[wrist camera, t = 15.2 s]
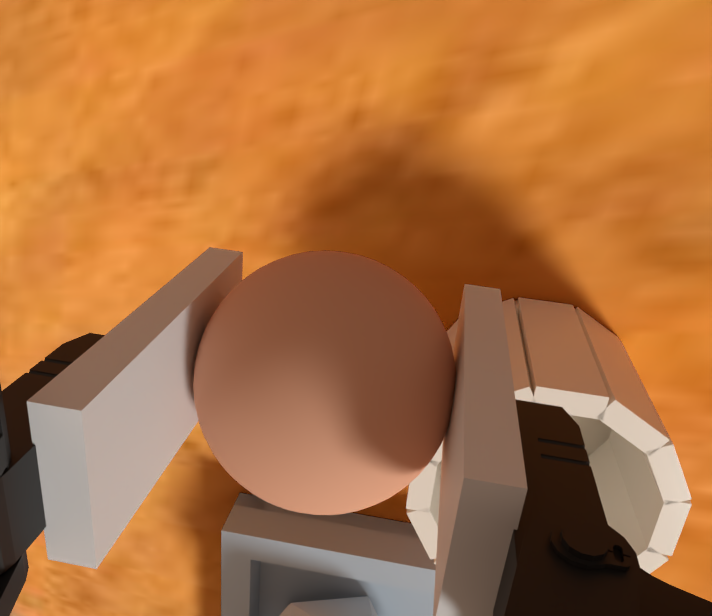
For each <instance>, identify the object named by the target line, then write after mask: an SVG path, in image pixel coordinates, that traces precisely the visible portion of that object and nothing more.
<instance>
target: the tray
mask: <svg viewBox="0 0 712 616" xmlns="http://www.w3.org/2000/svg"><path fill="white" fill-rule="evenodd" d="M435 571H436V565H435V564H434V559H431V560H430V558H429V556H428V554H427V552H426V550H425V548H424V546H423V544H422V542H421V540H420V538H419V537H418V535H417V533H416V531H415V529H414V527H413V525H412V524H411V523H406V522H400V521H395V520H389V519H384V518H378V517H372V516H367V515H361V514H356V513H345V514H337V515H313V514H305V513H299V512H294V511H290V510H286V509H283V508H281V507H278V506H275V505H273V504H271V503H268V502H266V501H264V500H262V499H261V498H259V497H257V496H255V495H250V494H244V493H240V494H239V496H238V498H237V500H236V502H235V504H234V506H233V508H232V510H231V512H230V514H229V516H228V518H227V520H226V522H225V524H224V526H223V528H222V530H221V616H279V615H280V614H281V613H282V612H283V610H284V609H285V608H286V607H287V606H288V605H289V604H290V603H295V602H306V601H318V600H329V599H341V598H352V597H363V596H369V599H370V601H371V603H372V605H373V607H374V609H375V611H376V613H377V615H378V616H433V607H434V589H435Z"/></svg>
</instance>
